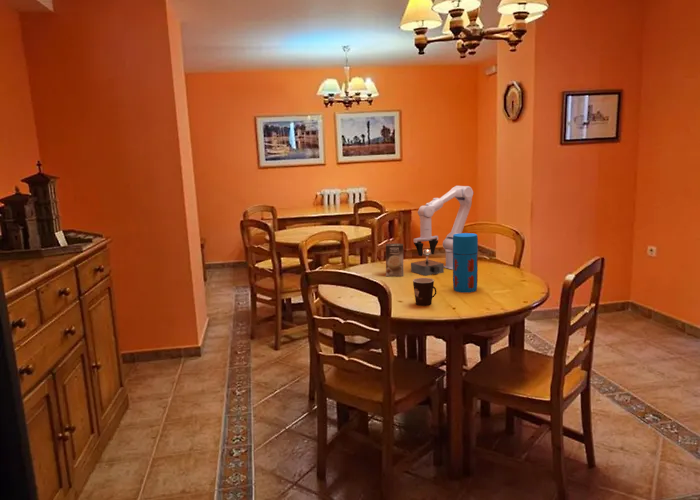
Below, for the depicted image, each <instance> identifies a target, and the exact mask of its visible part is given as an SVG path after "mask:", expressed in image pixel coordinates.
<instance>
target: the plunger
mask: <svg viewBox="0 0 700 500" xmlns="http://www.w3.org/2000/svg"><path fill="white" fill-rule="evenodd" d="M431 255H432V254H431V249H430V248H424V249H423V248H422V256H425V260H426V264H428V260H429V256H431Z"/></svg>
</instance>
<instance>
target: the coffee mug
mask: <svg viewBox="0 0 700 500" xmlns="http://www.w3.org/2000/svg"><path fill="white" fill-rule="evenodd" d="M434 282H435V280H434V279H433V278H430V277H417V278H413V279H412V284H413V291H414V299H415V304H416V305H417V306H419V307H428V306H431V305H432V302H433V298H434V297H435V296H436V295H437V288H436V287H435V286H434ZM433 292H434V294H433Z"/></svg>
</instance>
